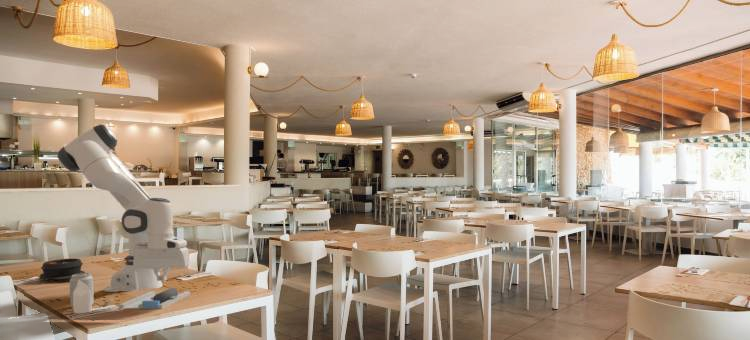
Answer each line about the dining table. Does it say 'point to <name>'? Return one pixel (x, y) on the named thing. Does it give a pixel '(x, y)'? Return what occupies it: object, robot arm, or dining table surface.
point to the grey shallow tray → (151, 301)
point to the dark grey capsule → (165, 295)
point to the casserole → (61, 269)
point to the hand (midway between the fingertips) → (161, 280)
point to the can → (85, 279)
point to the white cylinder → (82, 298)
